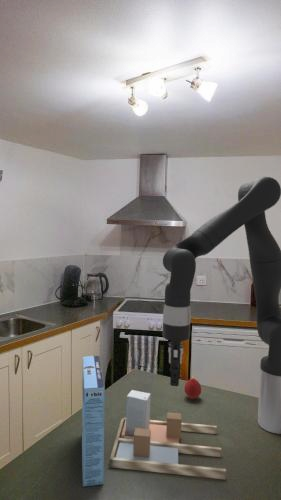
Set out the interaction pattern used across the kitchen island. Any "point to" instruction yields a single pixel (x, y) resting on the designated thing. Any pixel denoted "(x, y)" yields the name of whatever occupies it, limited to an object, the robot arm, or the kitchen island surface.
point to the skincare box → (137, 411)
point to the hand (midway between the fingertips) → (174, 378)
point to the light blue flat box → (92, 422)
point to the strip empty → (146, 449)
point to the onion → (192, 388)
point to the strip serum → (164, 430)
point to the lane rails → (182, 448)
